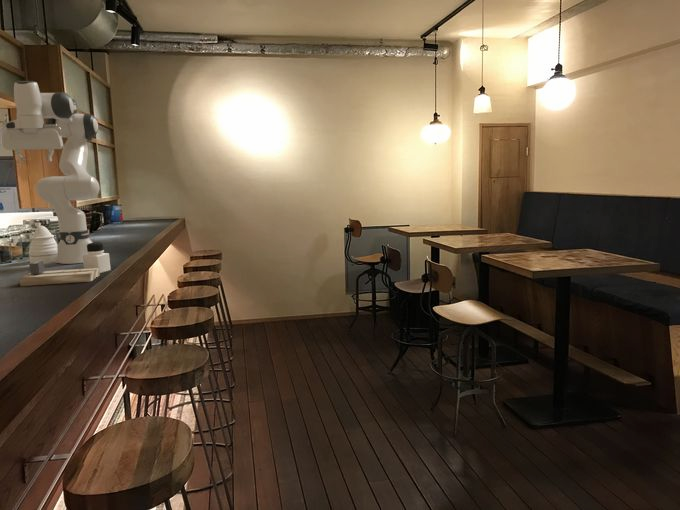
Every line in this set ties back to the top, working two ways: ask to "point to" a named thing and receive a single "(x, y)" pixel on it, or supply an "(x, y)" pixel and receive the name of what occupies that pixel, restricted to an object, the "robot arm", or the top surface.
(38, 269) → the fader knob
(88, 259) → the medicine bottle
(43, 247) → the honey pot
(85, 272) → the control strip
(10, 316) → the top surface
